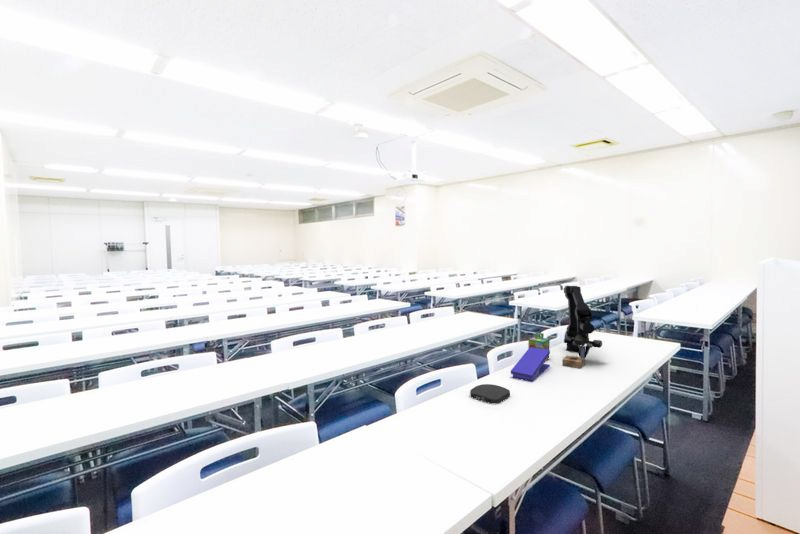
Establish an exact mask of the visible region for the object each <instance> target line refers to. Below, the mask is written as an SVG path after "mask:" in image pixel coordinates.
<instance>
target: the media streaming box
mask: <svg viewBox="0 0 800 534" xmlns="http://www.w3.org/2000/svg"><path fill="white" fill-rule="evenodd" d="M469 395H471V396H470V397H471V398H472V397H473V398H472V399H475V398H477V399H476V400H478V399H479V400H478V401H481V400H482V401H481V402H484V401H486V402H485V403H487V402H489V403H488V404H492V403H497V404H500V403H502V402H504V401H506V400H507V399H509V398H510V397H511V391H510V390H509V389H508V388H507V387H504V386H500V385H497V384H492V383H490V384H488V383H485V384H479V385H476V386H474V387H473V388H471V389H470V391H469ZM508 397H509V398H508ZM505 399H506V400H505ZM503 400H504V401H503ZM501 401H502V402H501Z"/></svg>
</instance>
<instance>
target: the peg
mask: <svg viewBox="0 0 800 534" xmlns="http://www.w3.org/2000/svg"><path fill="white" fill-rule="evenodd" d="M585 346H586V345H584V346H581V345H580V357H582V358H585V349H586V348H585ZM585 359H586V358H585Z"/></svg>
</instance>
